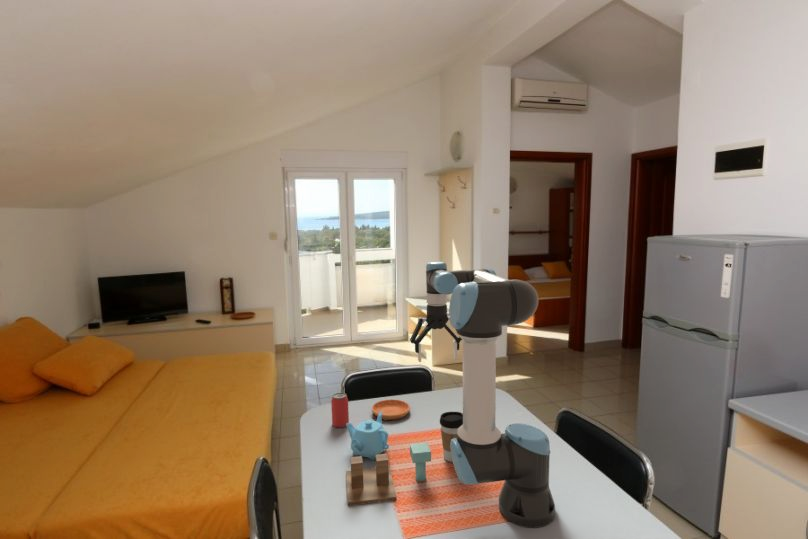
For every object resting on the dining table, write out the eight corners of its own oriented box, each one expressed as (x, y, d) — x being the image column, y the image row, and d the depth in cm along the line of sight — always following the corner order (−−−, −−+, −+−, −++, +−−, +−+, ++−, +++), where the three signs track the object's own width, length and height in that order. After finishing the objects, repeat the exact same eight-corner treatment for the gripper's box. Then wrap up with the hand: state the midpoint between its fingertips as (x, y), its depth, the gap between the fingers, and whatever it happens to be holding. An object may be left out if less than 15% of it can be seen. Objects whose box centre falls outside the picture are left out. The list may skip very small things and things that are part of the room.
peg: (431, 482, 138) (431, 451, 137) (413, 484, 137) (413, 453, 136) (427, 472, 143) (427, 442, 142) (410, 474, 143) (409, 444, 141)
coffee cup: (464, 465, 147) (463, 421, 145) (438, 462, 149) (438, 419, 147) (465, 451, 155) (465, 410, 154) (441, 449, 157) (441, 408, 155)
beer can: (352, 422, 179) (351, 394, 177) (341, 429, 173) (340, 400, 172) (339, 419, 182) (338, 390, 181) (328, 425, 177) (327, 396, 175)
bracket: (396, 499, 130) (395, 470, 129) (348, 505, 128) (347, 476, 127) (389, 469, 146) (388, 443, 145) (346, 473, 144) (345, 447, 142)
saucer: (392, 402, 198) (392, 395, 198) (418, 413, 186) (417, 406, 186) (364, 413, 187) (363, 406, 187) (388, 426, 176) (388, 419, 175)
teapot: (346, 444, 162) (344, 415, 160) (383, 439, 165) (382, 409, 164) (352, 467, 147) (351, 435, 146) (393, 460, 151) (392, 428, 149)
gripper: (466, 300, 170) (466, 354, 173) (401, 303, 166) (402, 358, 169) (472, 304, 163) (472, 360, 166) (405, 307, 159) (406, 365, 162)
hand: (437, 359), depth 167 cm, fingers open, 13 cm apart
